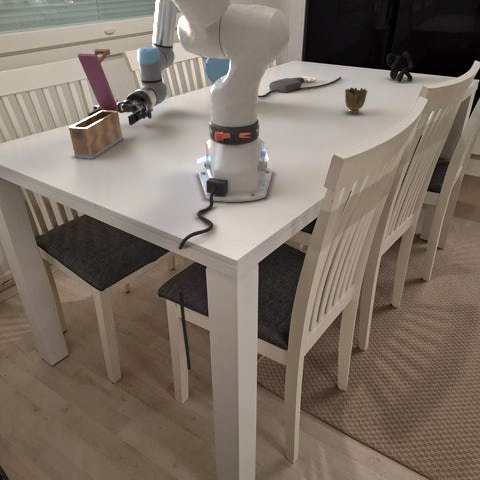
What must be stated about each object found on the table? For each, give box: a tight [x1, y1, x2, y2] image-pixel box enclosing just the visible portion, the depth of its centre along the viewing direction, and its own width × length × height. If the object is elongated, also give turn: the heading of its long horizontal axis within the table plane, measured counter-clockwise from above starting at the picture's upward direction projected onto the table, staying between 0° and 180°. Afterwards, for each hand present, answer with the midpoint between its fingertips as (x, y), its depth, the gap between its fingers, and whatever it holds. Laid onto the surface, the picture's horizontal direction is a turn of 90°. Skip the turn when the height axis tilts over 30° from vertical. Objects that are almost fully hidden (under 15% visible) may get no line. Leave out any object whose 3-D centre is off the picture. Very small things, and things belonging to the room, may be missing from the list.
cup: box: [344, 87, 368, 115], centre depth 156 cm, size 8×7×8 cm
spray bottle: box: [268, 75, 317, 93], centre depth 194 cm, size 3×11×24 cm
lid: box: [77, 48, 118, 110], centre depth 130 cm, size 18×6×8 cm
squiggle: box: [385, 51, 414, 83], centre depth 198 cm, size 11×10×15 cm
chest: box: [68, 110, 124, 160], centre depth 131 cm, size 17×6×9 cm, turn 163°
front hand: (80, 1), depth 116 cm, fingers open, 8 cm apart
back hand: (109, 119), depth 136 cm, fingers open, 13 cm apart
